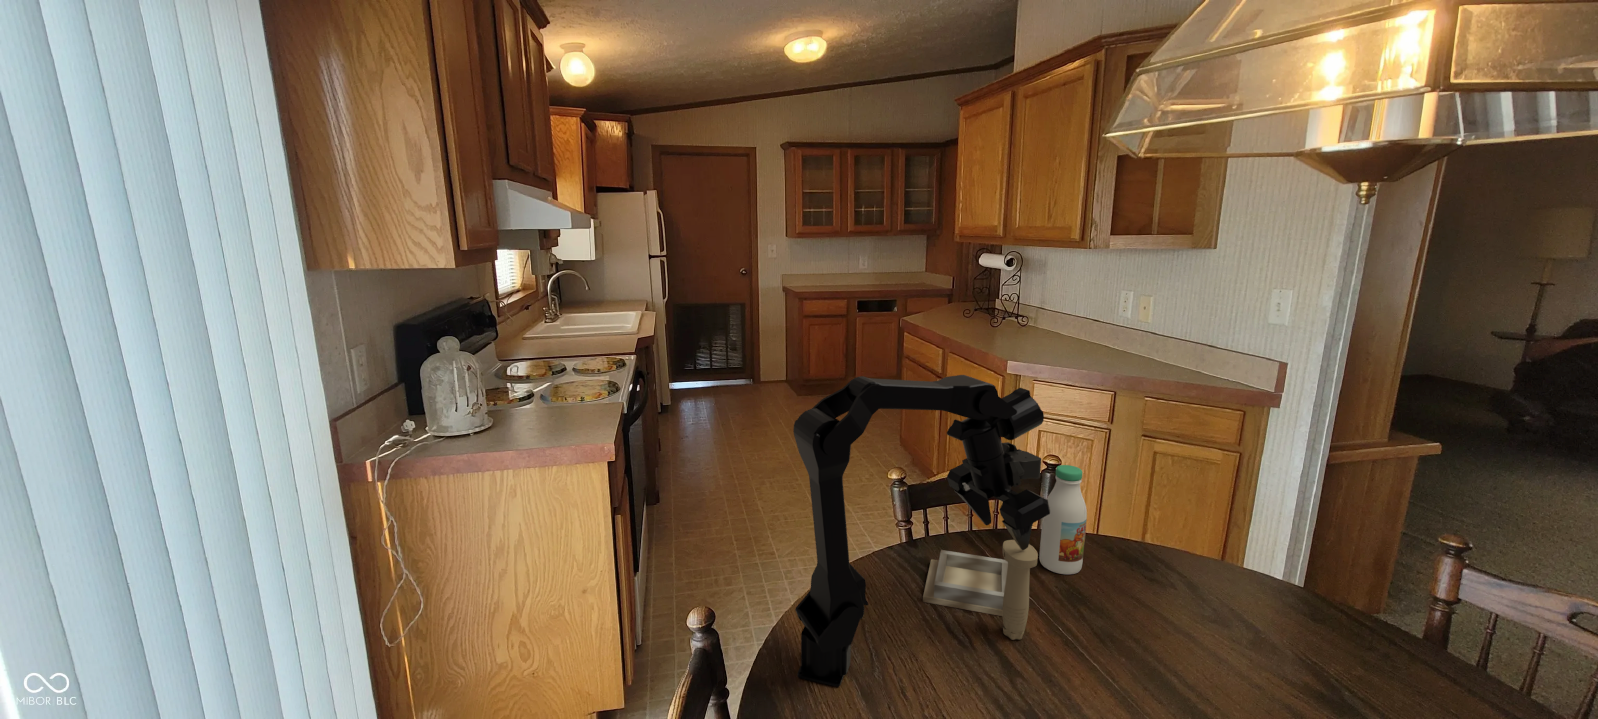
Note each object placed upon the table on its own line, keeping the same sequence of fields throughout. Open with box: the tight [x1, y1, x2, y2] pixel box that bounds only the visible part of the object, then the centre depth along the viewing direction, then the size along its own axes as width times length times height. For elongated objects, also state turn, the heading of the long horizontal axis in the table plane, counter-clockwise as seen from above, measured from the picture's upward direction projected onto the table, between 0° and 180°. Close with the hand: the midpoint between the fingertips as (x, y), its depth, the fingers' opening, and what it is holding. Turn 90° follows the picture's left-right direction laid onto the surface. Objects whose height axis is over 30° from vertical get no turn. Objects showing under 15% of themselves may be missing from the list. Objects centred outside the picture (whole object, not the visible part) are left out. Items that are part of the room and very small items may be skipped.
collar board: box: [922, 549, 1008, 617], centre depth 111 cm, size 16×13×4 cm
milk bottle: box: [1038, 464, 1088, 575], centre depth 117 cm, size 8×8×20 cm
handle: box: [1002, 539, 1039, 641], centre depth 97 cm, size 5×6×15 cm
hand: (1005, 535), depth 99 cm, fingers open, 9 cm apart
